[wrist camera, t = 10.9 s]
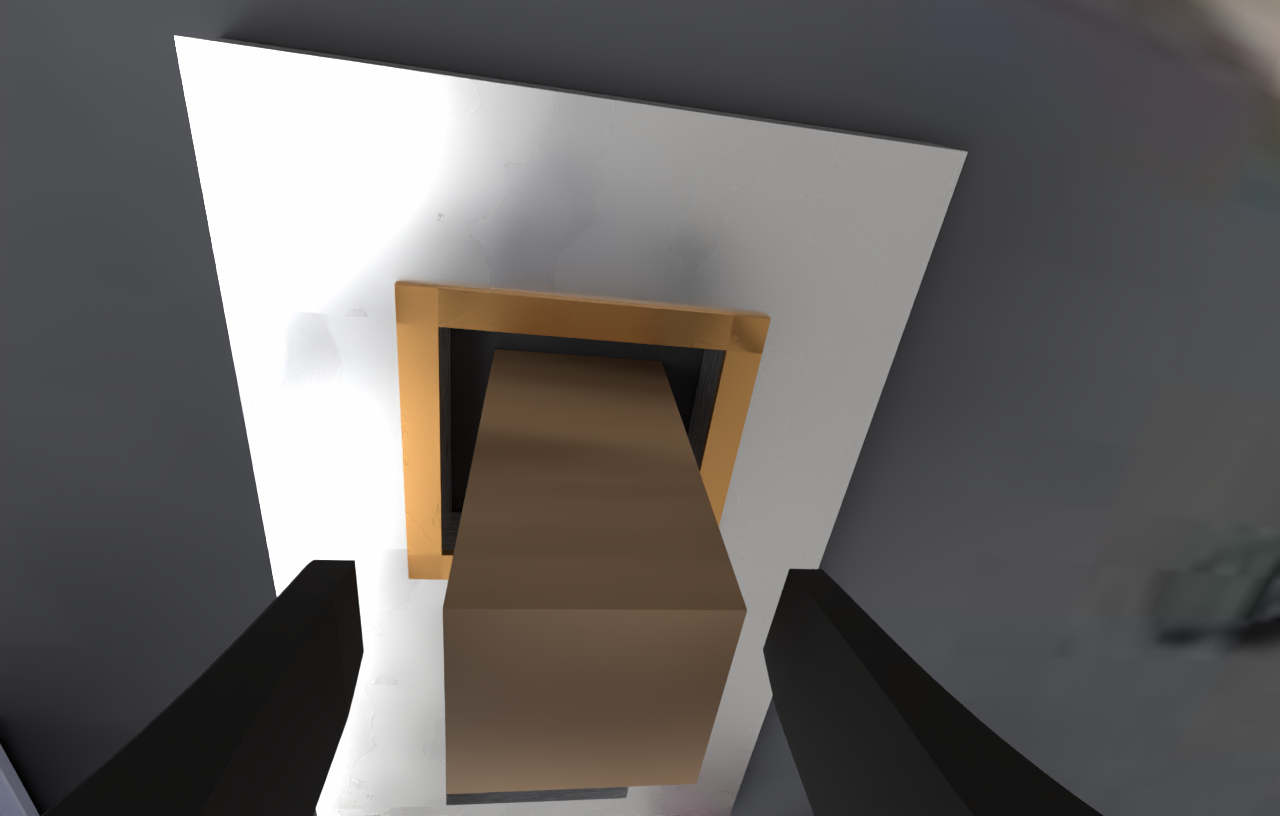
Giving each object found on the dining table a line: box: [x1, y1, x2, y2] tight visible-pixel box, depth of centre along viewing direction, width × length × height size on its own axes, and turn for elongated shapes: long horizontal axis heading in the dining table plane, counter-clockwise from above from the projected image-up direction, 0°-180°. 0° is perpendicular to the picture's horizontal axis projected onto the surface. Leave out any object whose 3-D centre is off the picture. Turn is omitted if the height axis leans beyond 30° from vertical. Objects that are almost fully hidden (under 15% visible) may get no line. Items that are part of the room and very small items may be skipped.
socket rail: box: [174, 36, 968, 816], centre depth 18 cm, size 26×14×2 cm, turn 172°
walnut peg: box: [443, 349, 747, 794], centre depth 13 cm, size 4×4×8 cm
